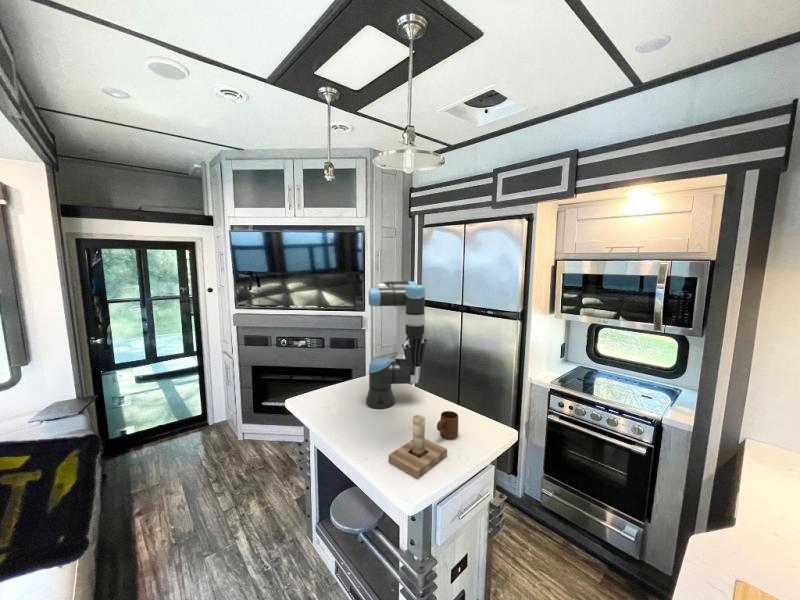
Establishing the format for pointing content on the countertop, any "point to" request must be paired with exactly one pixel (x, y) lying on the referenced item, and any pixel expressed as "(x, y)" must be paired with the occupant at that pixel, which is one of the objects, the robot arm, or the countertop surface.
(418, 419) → the leg
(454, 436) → the mug
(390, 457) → the board
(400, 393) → the countertop surface
